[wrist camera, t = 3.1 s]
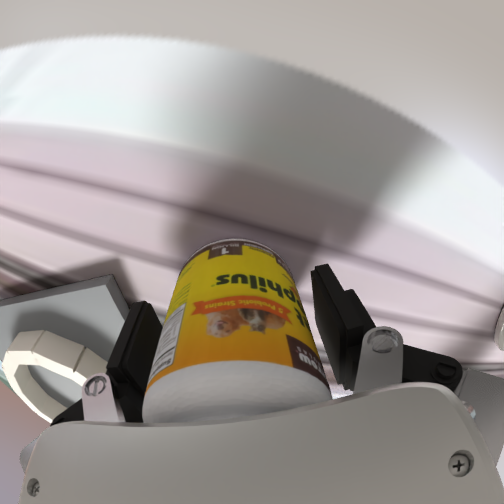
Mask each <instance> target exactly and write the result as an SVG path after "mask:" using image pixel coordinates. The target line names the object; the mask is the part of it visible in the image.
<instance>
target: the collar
mask: <svg viewBox="0 0 504 504" xmlns="http://www.w3.org/2000/svg"><path fill="white" fill-rule="evenodd" d="M129 311H130V309H129V307H128V305H127V303H126V302H125V300H124V298H123V296H122V294H121V291H120V289H119V287H118V285H117V283H116V281H115V279H114V277H113V275H107V276H103V277H98V278H94V279H90V280H85V281H81V282H76V283H72V284H68V285H63V286H59V287H55V288H50V289H46V290H42V291H37V292H33V293H29V294H25V295H20V296H16V297H12V298H8V299H3V300H0V360H1V361H2V368H3V371H4V373H5V375H6V377H7V379H8V381H9V383H10V385H11V387H12V389H14V391H15V392H16V393H17V395H18V396H19V397H20V398H21V399H22V400H23V401H24V402H25V403H26V404H27V405H28V406H29V407H30V408H31V409H32V410H33V411H34V412H36V413H37V414H38V415H39V416H41V417H42V418H44V419H45V420H47V421H48V422H50V423H52V421H53V419H54V418H55V417H56V416H57V415H59V414H60V413H62V412H63V411H65V410H66V409H67V408H69V407H70V406H72V405H73V404H74V403H76V402H77V401H79V400H80V399H81V398H82V386H83V384H84V382H85V381H86V380H87V379H88V378H89V377H90V376H92V375H94V374H97V373H104V374H105V373H106V371H107V369H106V366H107V363H108V361H109V358H110V356H111V353H112V351H113V348H114V346H115V343H116V341H117V339H118V336H119V334H120V332H121V329H122V327H123V325H124V322H125V320H126V318H127V316H128V313H129Z"/></svg>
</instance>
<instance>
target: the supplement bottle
mask: <svg viewBox="0 0 504 504" xmlns="http://www.w3.org/2000/svg"><path fill="white" fill-rule="evenodd" d="M329 400H333V399H332V395H331V391H330V387H329V384H328V382H327V379H326V376H325V373H324V369H323V366H322V363H321V360H320V357H319V354H318V351H317V348H316V345H315V342H314V339H313V336H312V333H311V330H310V326H309V323H308V320H307V317H306V314H305V311H304V308H303V306H302V303H301V300H300V297H299V294H298V291H297V288H296V285H295V282H294V280H293V277H292V274H291V272H290V270H289V268H288V266H287V265H286V263H285V262H284V260H283V259H282V258H281V257H280V256H279V255H278V254H277V253H276V252H274V251H273V250H272V249H270V248H269V247H267V246H265V245H263V244H260V243H258V242H255V241H251V240H247V239H224V240H219V241H215V242H212V243H210V244H208V245H206V246H204V247H202V248H201V249H199V250H198V251H196V252H195V253H194V254H193V255H192V256H191V257H190V258H189V259H188V260H187V262H186V263H185V264H184V266H183V268H182V270H181V272H180V274H179V277H178V280H177V283H176V286H175V289H174V292H173V296H172V299H171V302H170V305H169V309H168V312H167V315H166V319H165V322H164V326H163V329H162V332H161V336H160V339H159V343H158V347H157V350H156V354H155V357H154V361H153V365H152V369H151V372H150V376H149V380H148V384H147V388H146V392H145V397H144V402H143V408H142V418H143V421H144V423H174V422H195V421H209V420H220V419H230V418H238V417H246V416H253V415H260V414H266V413H272V412H278V411H283V410H289V409H294V408H299V407H303V406H308V405H312V404H316V403H321V402H325V401H329Z"/></svg>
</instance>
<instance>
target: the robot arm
mask: <svg viewBox="0 0 504 504" xmlns="http://www.w3.org/2000/svg"><path fill="white" fill-rule="evenodd" d="M311 280H312V290H313V299H314V310H315V320H316V325H317V328H318V331H319V333H320V336H321V339H322V342H323V344H324V347H325V350H326V353H327V355H328V358H329V361H330V364H331V367H332V370H333V372H334V375H335V378H336V381H337V383H338V384H343V387H344V390H348V389H350V390H351V391H354V392H353V394H352V395H349V396H345V397H341V398H337V399H333V400H329V401H325V402H321V403H316V404H312V405H308V406H303V407H299V408H294V409H289V410H283V411H278V412H272V413H266V414H260V415H253V416H246V417H238V418H230V419H220V420H209V421H195V422H174V423H144V421H143V418H142V408H143V402H144V397H145V392H146V388H147V384H148V380H149V376H150V372H151V369H152V365H153V361H154V357H155V354H156V350H157V347H158V343H159V339H160V336H161V332H162V329H163V327H162V325H161V323H160V321H159V319H158V317H157V315H156V313H155V311H154V309H153V307H152V305H151V304H150V303H147V302H146V301H141V302H135V303H133V304H132V307H131V309H130V311H129V313H128V316H127V318H126V320H125V322H124V325H123V327H122V329H121V332H120V334H119V336H118V339H117V341H116V343H115V346H114V348H113V351H112V353H111V356H110V358H109V361H108V363H107V366H106V369H107V371H106V373H105V374H104V373H97V374H94V375H92V376H90V377H89V378H88V379H87V380H86V381H85V382H84V384H83V386H82V398H81V399H80V400H79V401H77V402H76V403H74V404H73V405H72V406H70V407H69V408H67V409H66V410H65V411H63V412H62V413H60V414H59V415H57V416H56V417H55V418H54V419H53V421H52V423H51V425H50V427H49V428H47V429H46V430H44V431H43V432H42V433H41V435H40V436H39V437H37V438H36V439H35V440H33V441H32V442H31V443H30V444H28V445H27V446H26V447H25V448H24V449H23V450H22V451H21V454H20V462H21V465H22V468H23V470H24V473H25V476H24V480H23V484H22V488H21V493H20V498H19V503H18V504H504V488H503V485H502V482H501V479H500V476H499V474H498V471H497V468H496V465H497V462H498V459H499V457H500V454H501V451H502V448H503V445H504V379H503V378H500V377H497V376H493V375H490V374H487V373H483V372H480V371H477V370H474V369H471V368H469V369H468V371H466V370H463V369H462V366H461V365H460V363H459V362H458V361H457V360H455V359H454V358H451V357H449V356H445V355H441V354H437V353H433V352H430V351H426V350H422V349H419V348H415V347H411V346H408V345H404V344H403V338H402V336H401V334H400V333H399V332H398V331H397V330H395V329H393V328H391V327H385V326H382V327H376V326H375V324H374V322H373V321H372V319H371V317H370V316H369V314H368V312H367V311H366V309H365V307H364V306H363V304H362V302H361V301H360V299H359V298H358V296H357V294H356V293H355V291H354V290H353V289H350V290H346V291H344V290H343V288H342V286H341V285H340V283H339V281H338V280H337V278H336V276H335V275H334V273H333V271H332V270H331V268H330V266H329V265H328V264H324V265H319V266H315V270H313V271H311ZM494 341H495V343H496V345H497V346H498V347H499V349H500V350H502V351H504V307H503V309H502V312H501V314H500V317H499V319H498V322H497V325H496V329H495V334H494Z"/></svg>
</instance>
